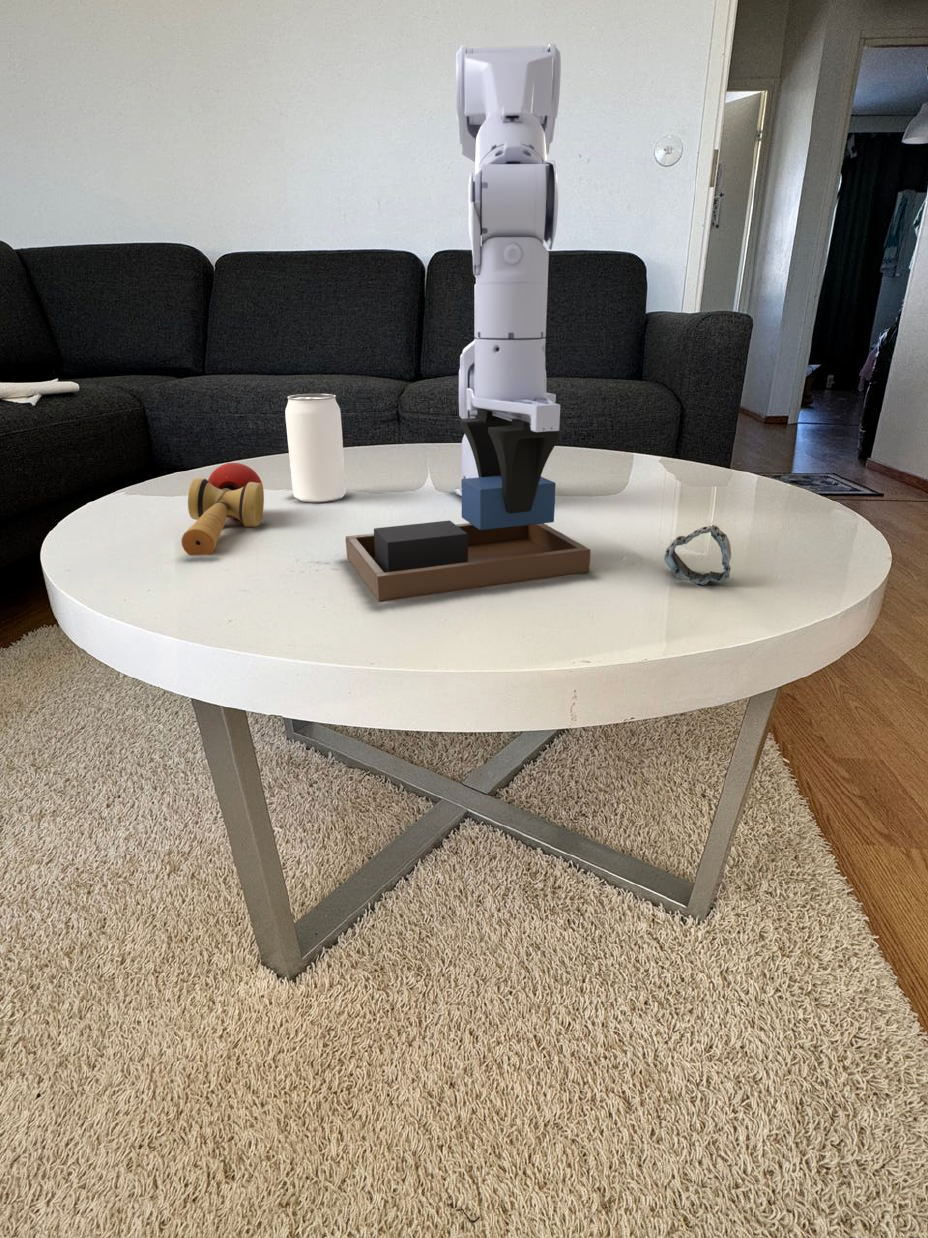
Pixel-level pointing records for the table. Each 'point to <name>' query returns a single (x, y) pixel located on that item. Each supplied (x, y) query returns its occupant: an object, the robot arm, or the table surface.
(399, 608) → the table surface
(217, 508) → the kendama
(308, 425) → the can
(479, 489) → the blue rectangular block
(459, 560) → the black rectangular block
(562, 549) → the tray
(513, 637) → the table surface
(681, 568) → the rough grey ring
